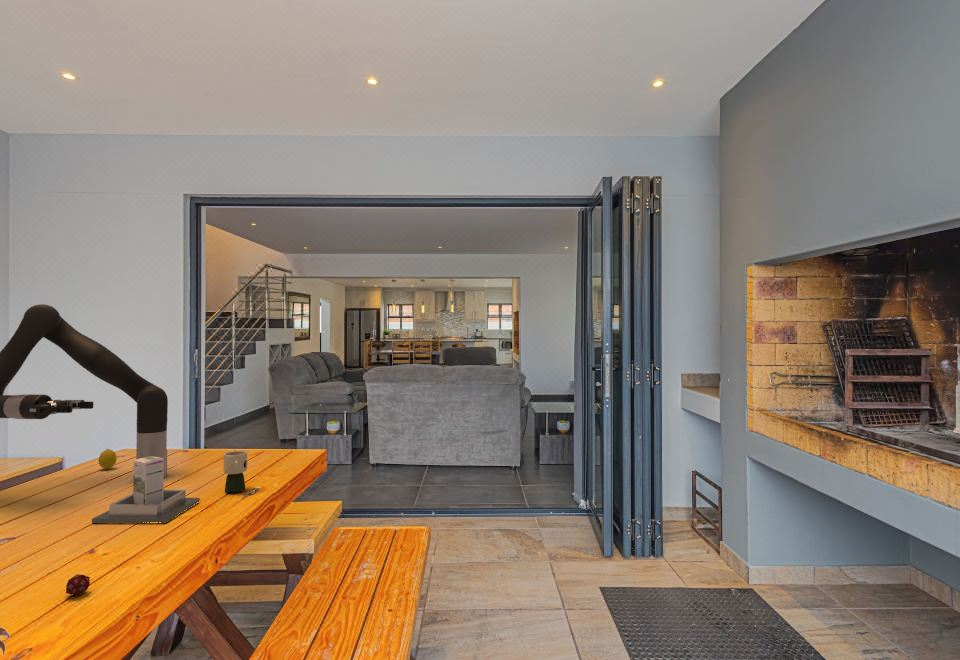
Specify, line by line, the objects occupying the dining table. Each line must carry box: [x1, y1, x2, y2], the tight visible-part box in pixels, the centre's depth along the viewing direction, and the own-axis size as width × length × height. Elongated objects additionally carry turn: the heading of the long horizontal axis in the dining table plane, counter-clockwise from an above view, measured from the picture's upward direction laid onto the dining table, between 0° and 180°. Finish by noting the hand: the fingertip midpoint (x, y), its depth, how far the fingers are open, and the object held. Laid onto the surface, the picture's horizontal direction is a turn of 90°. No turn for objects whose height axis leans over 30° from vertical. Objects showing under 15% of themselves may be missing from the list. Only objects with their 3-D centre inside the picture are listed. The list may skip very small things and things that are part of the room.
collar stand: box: [91, 489, 201, 524], centre depth 149 cm, size 18×20×4 cm
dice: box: [65, 573, 91, 597], centre depth 102 cm, size 4×4×4 cm
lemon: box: [98, 448, 117, 471], centre depth 194 cm, size 6×6×8 cm
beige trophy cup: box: [223, 450, 248, 493], centre depth 169 cm, size 11×7×13 cm, turn 30°
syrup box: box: [132, 456, 165, 504], centre depth 148 cm, size 6×6×14 cm
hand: (82, 407), depth 155 cm, fingers open, 8 cm apart
